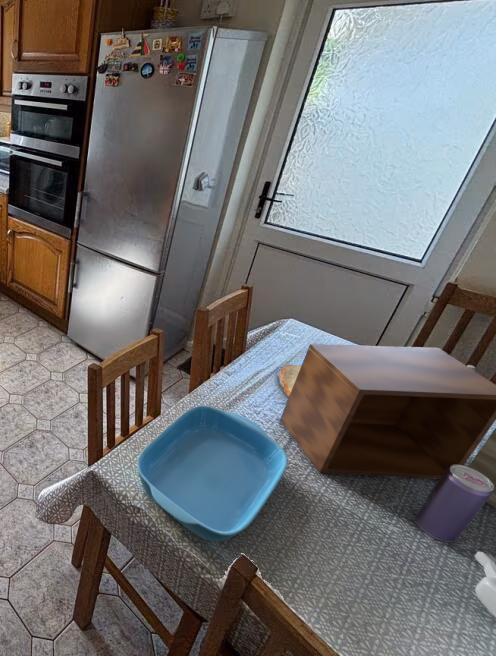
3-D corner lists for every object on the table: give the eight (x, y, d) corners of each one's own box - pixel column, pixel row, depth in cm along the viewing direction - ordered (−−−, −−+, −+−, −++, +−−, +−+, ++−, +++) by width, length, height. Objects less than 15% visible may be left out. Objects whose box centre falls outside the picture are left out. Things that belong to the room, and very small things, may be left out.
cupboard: (453, 480, 92) (512, 395, 81) (319, 472, 94) (360, 389, 83) (395, 425, 106) (438, 347, 96) (279, 419, 108) (310, 343, 98)
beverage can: (453, 550, 78) (495, 498, 72) (411, 526, 82) (446, 475, 76) (457, 530, 82) (496, 478, 75) (416, 508, 86) (450, 458, 79)
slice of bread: (322, 422, 107) (327, 411, 106) (256, 380, 122) (260, 370, 121) (362, 401, 114) (367, 391, 112) (295, 364, 129) (299, 354, 127)
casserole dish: (218, 579, 74) (228, 556, 71) (114, 492, 90) (118, 469, 87) (292, 469, 95) (302, 447, 92) (197, 413, 111) (202, 393, 108)
